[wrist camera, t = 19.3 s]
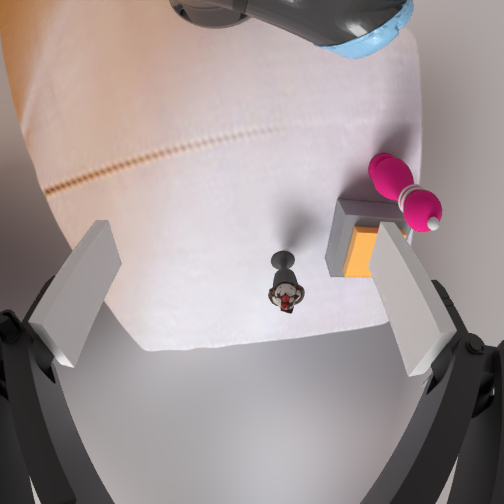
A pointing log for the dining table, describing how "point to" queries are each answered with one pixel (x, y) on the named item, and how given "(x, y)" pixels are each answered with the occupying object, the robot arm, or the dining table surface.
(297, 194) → the dining table surface
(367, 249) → the button
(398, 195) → the pepper mill
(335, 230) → the breaker box
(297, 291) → the sundae
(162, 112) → the dining table surface
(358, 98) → the dining table surface
